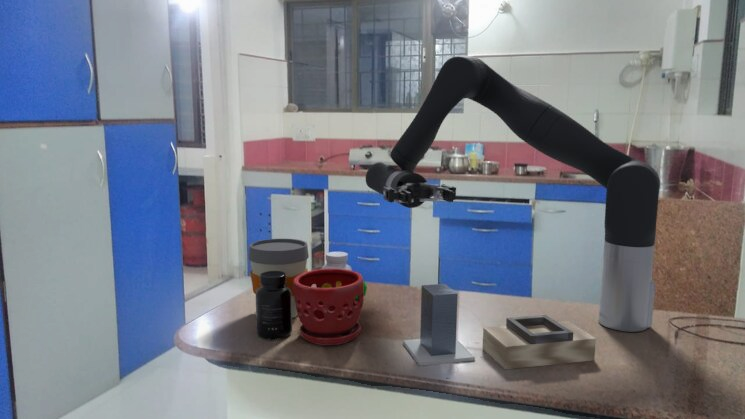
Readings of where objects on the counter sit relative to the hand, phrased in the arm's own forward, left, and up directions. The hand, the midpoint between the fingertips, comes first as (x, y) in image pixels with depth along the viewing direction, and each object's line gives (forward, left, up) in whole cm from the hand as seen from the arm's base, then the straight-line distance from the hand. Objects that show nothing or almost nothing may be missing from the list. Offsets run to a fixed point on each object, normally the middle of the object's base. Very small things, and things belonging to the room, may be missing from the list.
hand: (430, 197), depth 110 cm
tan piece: (-15, +16, -26) cm, 34 cm away
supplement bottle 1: (+30, -4, -27) cm, 40 cm away
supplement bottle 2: (+16, -14, -27) cm, 34 cm away
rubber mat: (+2, +11, -26) cm, 29 cm away
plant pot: (+20, 0, -27) cm, 33 cm away
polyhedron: (+10, -22, -27) cm, 36 cm away
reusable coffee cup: (+28, -16, -27) cm, 42 cm away
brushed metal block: (+2, +11, -26) cm, 28 cm away
